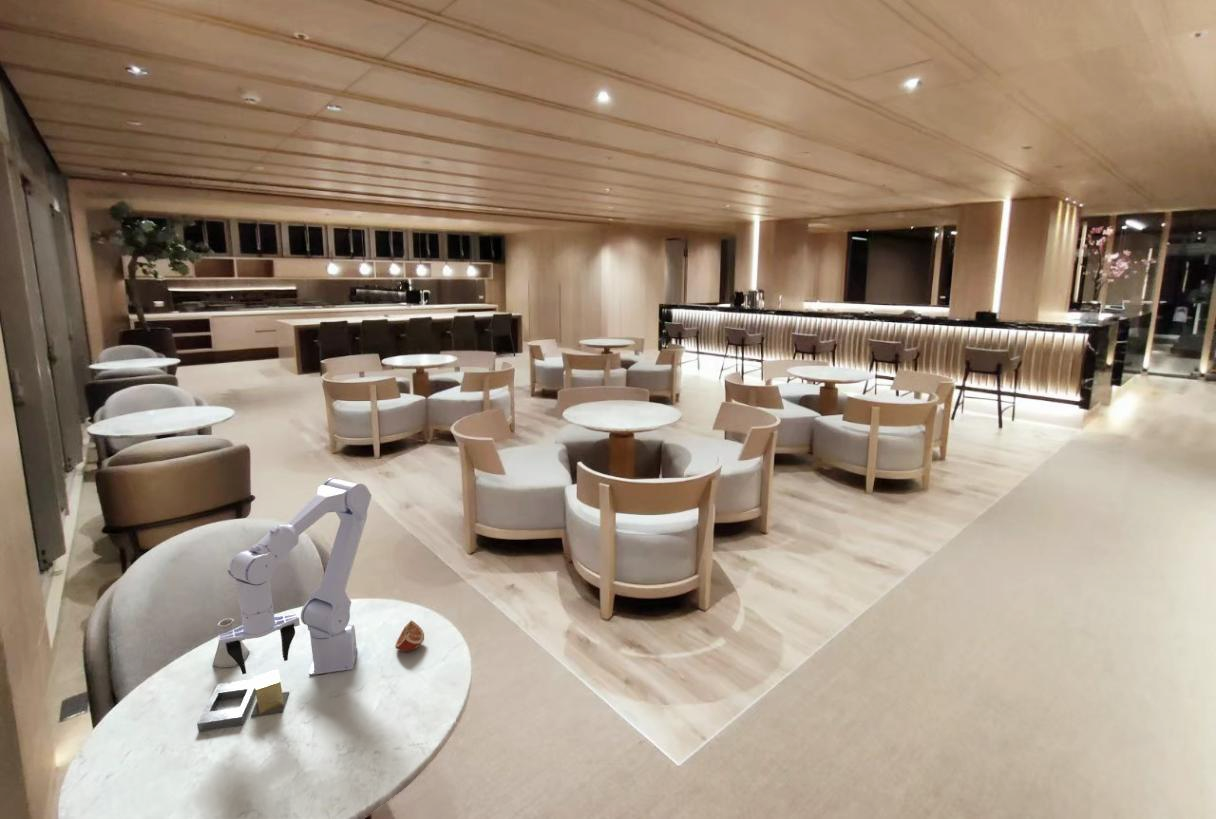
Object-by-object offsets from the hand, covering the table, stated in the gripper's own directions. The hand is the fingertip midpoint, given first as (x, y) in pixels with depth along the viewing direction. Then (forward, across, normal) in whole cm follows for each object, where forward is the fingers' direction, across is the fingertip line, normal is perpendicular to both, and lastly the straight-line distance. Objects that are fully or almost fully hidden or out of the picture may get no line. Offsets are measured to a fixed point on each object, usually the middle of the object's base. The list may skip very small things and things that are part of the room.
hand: (265, 664), depth 129 cm
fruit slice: (+10, -31, -4) cm, 33 cm away
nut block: (+10, 0, 0) cm, 10 cm away
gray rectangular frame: (+10, +7, -4) cm, 13 cm away
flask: (+10, +6, -22) cm, 25 cm away
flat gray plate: (+10, 0, 0) cm, 10 cm away
